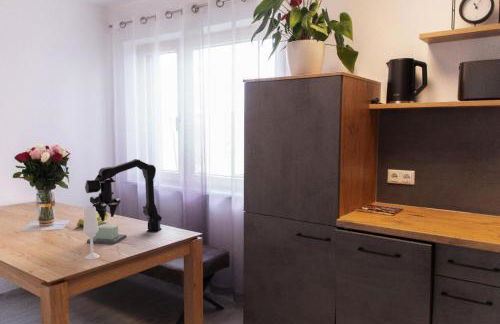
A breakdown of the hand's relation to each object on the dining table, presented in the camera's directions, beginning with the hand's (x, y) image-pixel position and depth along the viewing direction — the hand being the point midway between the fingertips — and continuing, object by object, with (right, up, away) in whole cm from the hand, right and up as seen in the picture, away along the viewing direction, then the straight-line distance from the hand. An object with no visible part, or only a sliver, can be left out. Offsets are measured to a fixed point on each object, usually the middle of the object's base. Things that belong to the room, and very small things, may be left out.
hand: (107, 218), depth 212 cm
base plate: (0, -11, -1) cm, 11 cm away
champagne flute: (+3, -14, -28) cm, 31 cm away
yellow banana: (-21, -9, +33) cm, 40 cm away
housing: (0, -10, -1) cm, 10 cm away
